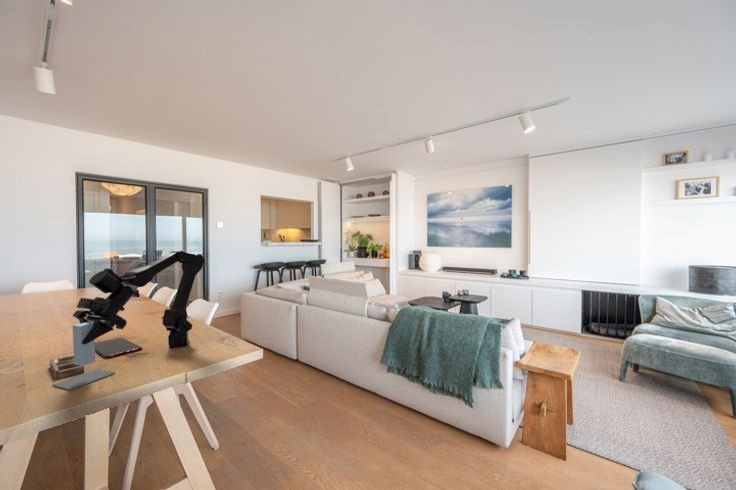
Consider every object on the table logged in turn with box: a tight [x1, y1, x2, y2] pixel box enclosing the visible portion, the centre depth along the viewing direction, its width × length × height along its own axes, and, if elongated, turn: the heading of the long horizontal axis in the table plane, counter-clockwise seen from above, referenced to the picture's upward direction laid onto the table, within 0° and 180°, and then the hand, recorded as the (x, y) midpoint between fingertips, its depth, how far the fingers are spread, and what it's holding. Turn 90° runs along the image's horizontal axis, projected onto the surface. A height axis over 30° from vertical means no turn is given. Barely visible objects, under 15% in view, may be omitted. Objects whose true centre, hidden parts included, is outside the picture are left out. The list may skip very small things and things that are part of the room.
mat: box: [51, 368, 116, 391], centre depth 99 cm, size 12×9×1 cm
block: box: [72, 322, 96, 367], centre depth 99 cm, size 4×4×12 cm
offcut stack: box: [54, 352, 74, 366], centre depth 110 cm, size 6×4×3 cm, turn 141°
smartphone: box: [94, 337, 143, 360], centre depth 128 cm, size 12×2×25 cm
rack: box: [49, 358, 85, 380], centre depth 107 cm, size 7×15×2 cm, turn 51°
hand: (78, 343), depth 98 cm, fingers closed on block, 4 cm apart
